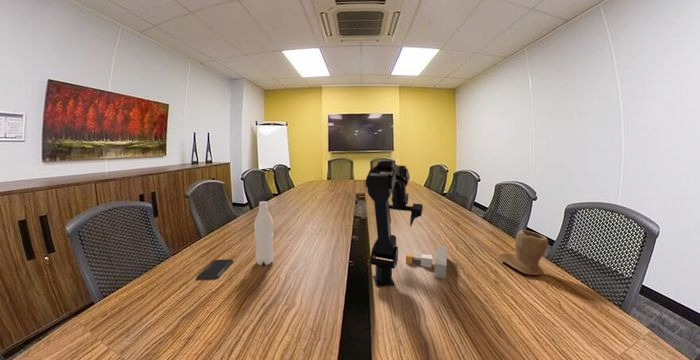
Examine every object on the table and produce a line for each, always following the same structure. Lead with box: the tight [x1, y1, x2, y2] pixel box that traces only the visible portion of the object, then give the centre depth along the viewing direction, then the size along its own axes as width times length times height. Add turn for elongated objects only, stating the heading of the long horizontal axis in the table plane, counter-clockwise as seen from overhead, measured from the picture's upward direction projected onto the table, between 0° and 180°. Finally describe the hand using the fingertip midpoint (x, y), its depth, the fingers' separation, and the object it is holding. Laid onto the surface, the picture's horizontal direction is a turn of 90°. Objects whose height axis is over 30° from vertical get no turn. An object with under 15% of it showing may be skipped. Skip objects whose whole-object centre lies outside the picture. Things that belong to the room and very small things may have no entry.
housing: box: [433, 245, 448, 280], centre depth 102 cm, size 4×20×5 cm, turn 159°
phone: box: [196, 258, 234, 280], centre depth 99 cm, size 8×1×15 cm
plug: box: [405, 253, 433, 268], centre depth 105 cm, size 10×4×4 cm, turn 69°
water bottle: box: [253, 200, 275, 266], centre depth 104 cm, size 7×7×25 cm
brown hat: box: [497, 229, 549, 276], centre depth 101 cm, size 15×12×15 cm
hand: (400, 224), depth 114 cm, fingers open, 9 cm apart
